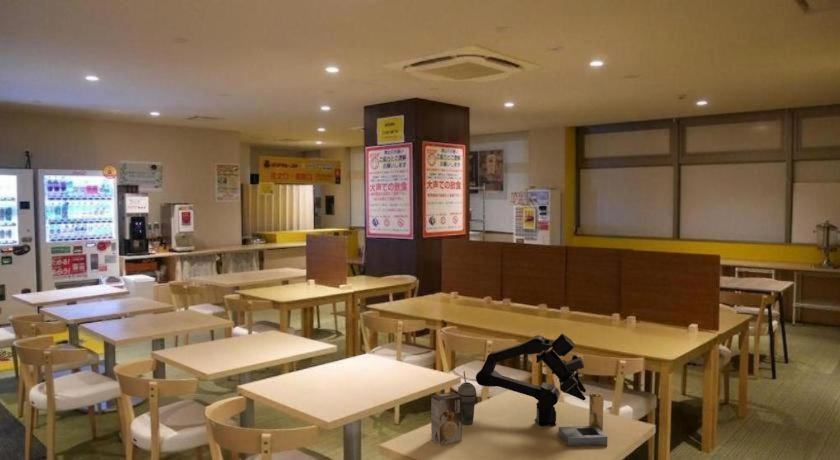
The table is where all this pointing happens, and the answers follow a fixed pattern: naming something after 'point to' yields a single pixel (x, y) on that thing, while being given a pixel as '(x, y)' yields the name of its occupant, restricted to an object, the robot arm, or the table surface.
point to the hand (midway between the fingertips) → (585, 395)
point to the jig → (582, 436)
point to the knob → (596, 410)
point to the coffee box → (446, 418)
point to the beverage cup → (467, 401)
